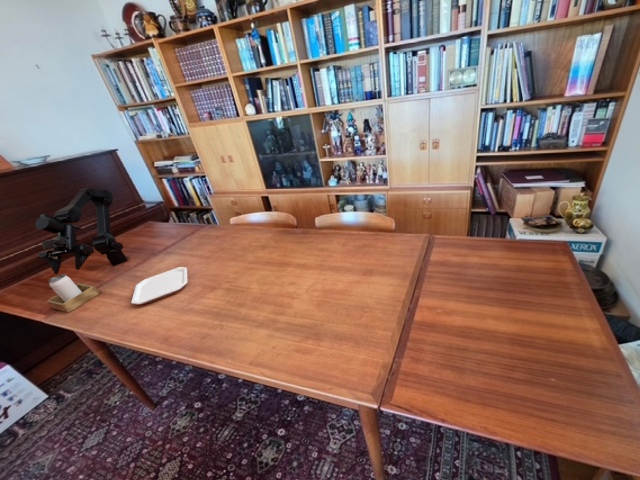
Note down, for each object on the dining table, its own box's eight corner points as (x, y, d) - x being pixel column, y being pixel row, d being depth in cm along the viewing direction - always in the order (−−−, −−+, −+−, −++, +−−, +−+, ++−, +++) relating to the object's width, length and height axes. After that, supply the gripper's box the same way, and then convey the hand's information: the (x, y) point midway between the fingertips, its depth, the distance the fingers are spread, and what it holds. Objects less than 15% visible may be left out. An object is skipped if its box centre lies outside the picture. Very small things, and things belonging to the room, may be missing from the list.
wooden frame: (84, 290, 134) (78, 283, 132) (99, 293, 129) (93, 286, 127) (53, 308, 125) (46, 301, 123) (68, 312, 120) (61, 304, 118)
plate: (132, 311, 113) (129, 307, 112) (139, 285, 129) (136, 281, 128) (189, 290, 119) (186, 285, 118) (188, 268, 135) (186, 264, 134)
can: (75, 305, 124) (54, 282, 117) (64, 305, 125) (42, 283, 119) (89, 295, 129) (70, 273, 122) (78, 295, 130) (59, 273, 124)
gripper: (24, 235, 120) (23, 272, 117) (70, 226, 121) (69, 263, 117) (53, 243, 131) (52, 277, 128) (94, 235, 131) (95, 269, 128)
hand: (66, 271), depth 125 cm, fingers open, 9 cm apart
